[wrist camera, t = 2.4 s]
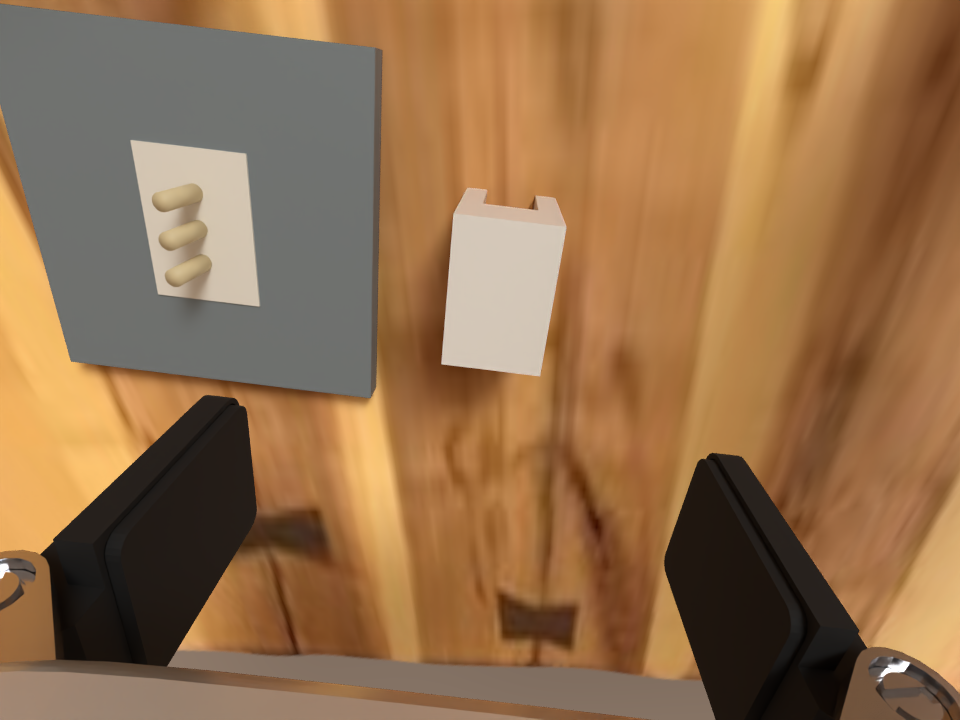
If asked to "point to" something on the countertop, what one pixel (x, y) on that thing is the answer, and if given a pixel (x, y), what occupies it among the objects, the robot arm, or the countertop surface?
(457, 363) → the plug housing
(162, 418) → the countertop surface
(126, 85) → the pin board
